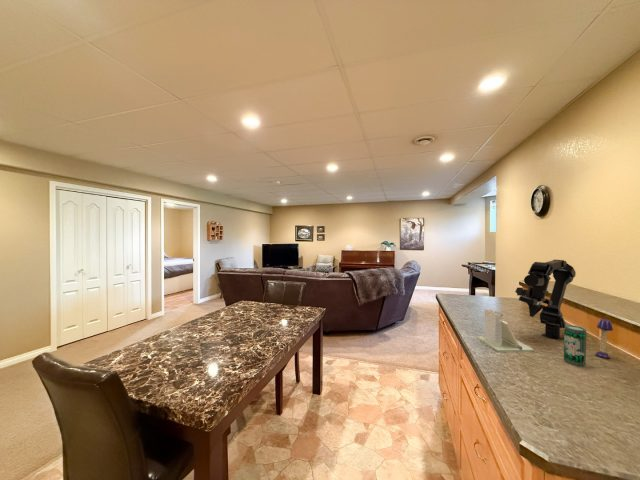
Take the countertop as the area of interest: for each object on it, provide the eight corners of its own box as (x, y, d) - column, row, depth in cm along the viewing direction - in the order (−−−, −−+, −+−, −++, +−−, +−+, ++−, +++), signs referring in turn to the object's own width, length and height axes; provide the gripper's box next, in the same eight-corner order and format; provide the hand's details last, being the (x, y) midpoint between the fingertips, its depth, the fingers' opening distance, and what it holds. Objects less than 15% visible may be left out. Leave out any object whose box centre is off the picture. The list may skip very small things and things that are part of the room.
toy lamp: (606, 355, 111) (607, 318, 110) (615, 360, 106) (616, 322, 106) (592, 353, 112) (593, 317, 112) (600, 358, 108) (601, 320, 107)
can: (561, 360, 106) (562, 326, 106) (568, 357, 109) (569, 324, 108) (580, 367, 101) (581, 331, 100) (587, 364, 103) (588, 329, 103)
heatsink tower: (493, 339, 126) (493, 309, 125) (504, 346, 118) (505, 315, 117) (484, 339, 126) (484, 309, 125) (495, 346, 118) (495, 315, 117)
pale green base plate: (509, 337, 129) (509, 333, 129) (534, 351, 114) (534, 346, 114) (477, 338, 129) (477, 333, 129) (497, 352, 114) (497, 347, 114)
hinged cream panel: (500, 335, 128) (488, 312, 128) (520, 346, 116) (507, 321, 115) (499, 336, 128) (487, 313, 128) (518, 347, 116) (505, 322, 115)
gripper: (530, 282, 135) (523, 310, 136) (511, 281, 127) (503, 309, 129) (556, 289, 125) (548, 319, 126) (537, 288, 117) (528, 319, 119)
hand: (531, 316), depth 125 cm, fingers closed
